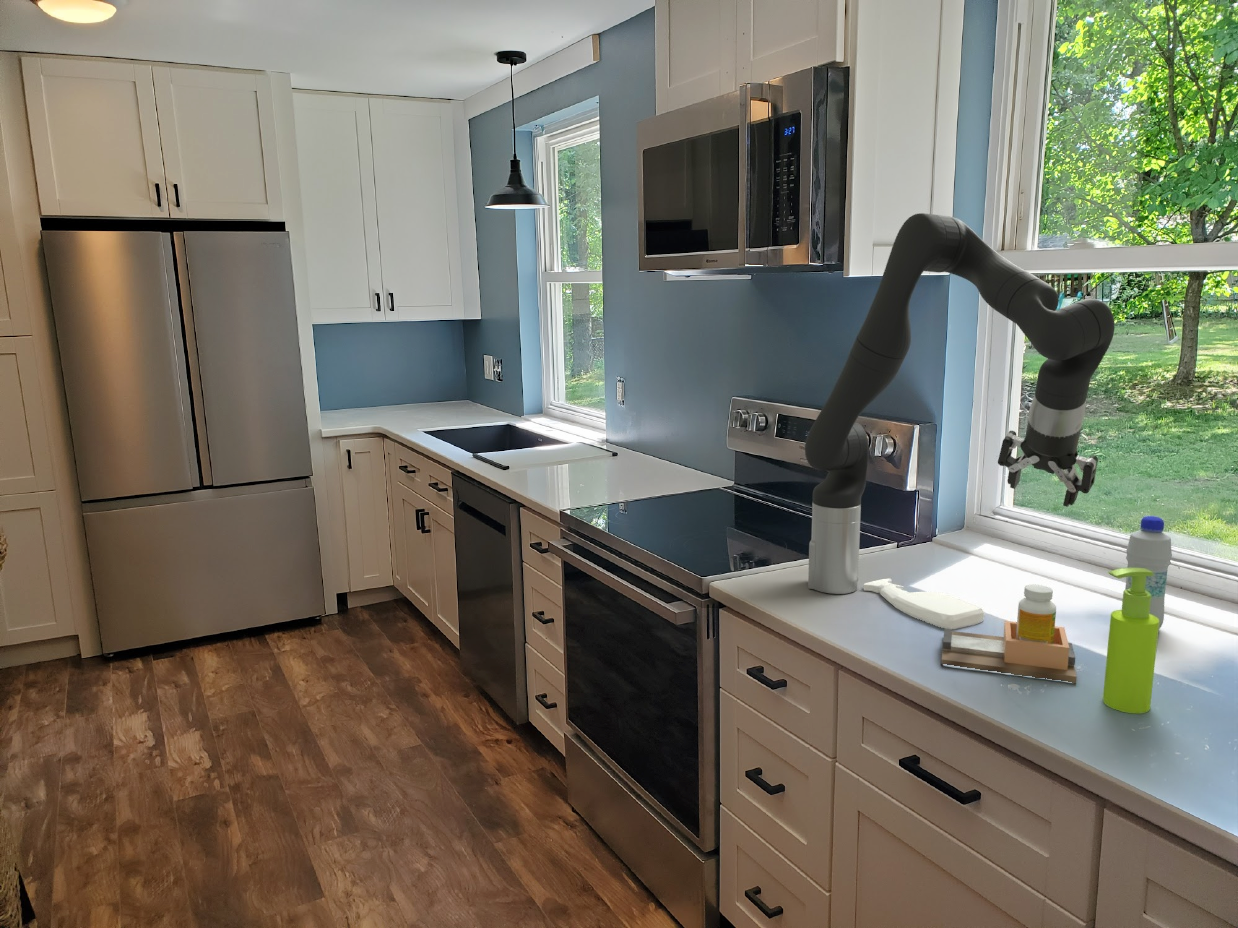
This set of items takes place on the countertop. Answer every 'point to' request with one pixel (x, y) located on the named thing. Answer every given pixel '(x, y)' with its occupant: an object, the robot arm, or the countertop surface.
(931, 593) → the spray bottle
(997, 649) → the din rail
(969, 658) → the rail board
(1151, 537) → the bottle
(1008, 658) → the orange open box
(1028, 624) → the supplement bottle
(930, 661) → the countertop surface
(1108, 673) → the soap dispenser
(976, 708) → the countertop surface
